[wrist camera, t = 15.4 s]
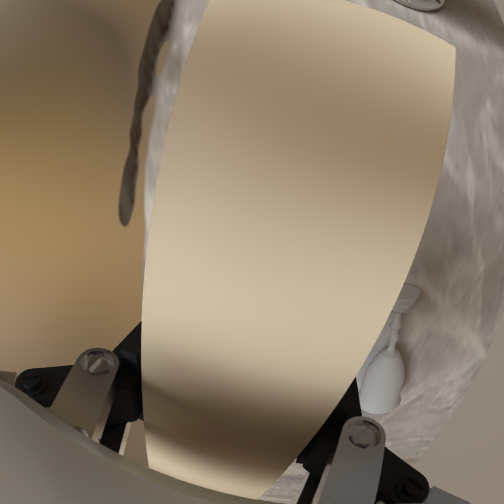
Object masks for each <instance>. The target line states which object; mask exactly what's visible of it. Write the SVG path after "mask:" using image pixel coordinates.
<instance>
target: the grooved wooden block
mask: <svg viewBox="0 0 504 504" xmlns="http://www.w3.org/2000/svg"><path fill="white" fill-rule="evenodd" d="M454 78H455V47H454V46H452V45H450V44H449V43H447V42H445V41H443V40H441V39H440V38H438V37H436V36H434V35H432V34H430V33H428V32H426V31H424V30H422V29H420V28H418V27H416V26H414V25H411V24H409V23H407V22H405V21H402V20H400V19H397V18H395V17H392V16H390V15H387V14H385V13H382V12H379V11H376V10H374V9H371V8H368V7H364V6H361V5H358V4H355V3H351V2H348V1H344V0H209V3H208V5H207V7H206V10H205V12H204V15H203V17H202V20H201V22H200V25H199V27H198V30H197V33H196V35H195V38H194V41H193V44H192V47H191V49H190V52H189V55H188V58H187V61H186V64H185V68H184V71H183V74H182V77H181V81H180V84H179V87H178V91H177V94H176V98H175V102H174V105H173V109H172V113H171V117H170V121H169V125H168V129H167V133H166V138H165V142H164V147H163V151H162V156H161V161H160V166H159V171H158V177H157V182H156V188H155V194H154V200H153V206H152V213H151V220H150V228H149V236H148V244H147V253H146V263H145V275H144V288H143V307H142V333H141V373H142V399H143V415H144V426H145V438H146V446H147V455H148V463H149V468H151V469H153V470H155V471H158V472H160V473H163V474H166V475H168V476H171V477H174V478H176V479H179V480H182V481H185V482H188V483H191V484H194V485H198V486H201V487H204V488H208V489H211V490H215V491H219V492H223V493H227V494H231V495H236V496H241V497H245V498H251V499H256V500H257V499H258V498H259V497H260V496H261V495H262V494H263V493H264V492H265V491H266V490H267V489H268V488H269V487H270V486H271V485H272V484H273V483H274V482H275V481H276V480H277V479H278V478H279V477H280V476H281V475H282V473H283V472H284V471H285V470H286V469H287V468H288V467H289V466H290V465H291V463H292V462H293V461H294V460H295V459H296V458H297V456H298V455H299V454H300V453H301V452H302V450H303V449H304V448H305V447H306V446H307V444H308V443H309V442H310V441H311V439H312V438H313V437H314V436H315V434H316V433H317V432H318V430H319V429H320V428H321V426H322V425H323V424H324V422H325V421H326V420H327V418H328V417H329V415H330V414H331V413H332V411H333V410H334V408H335V407H336V406H337V404H338V403H339V401H340V400H341V398H342V397H343V395H344V394H345V392H346V391H347V389H348V388H349V386H350V384H351V383H352V381H353V380H354V378H355V376H356V375H357V373H358V372H359V370H360V368H361V367H362V365H363V363H364V362H365V360H366V358H367V356H368V355H369V353H370V351H371V349H372V347H373V346H374V344H375V342H376V340H377V338H378V336H379V334H380V333H381V331H382V329H383V327H384V325H385V323H386V321H387V319H388V317H389V315H390V313H391V311H392V309H393V306H394V304H395V302H396V300H397V298H398V296H399V293H400V291H401V289H402V287H403V284H404V282H405V280H406V277H407V275H408V272H409V270H410V267H411V265H412V262H413V260H414V257H415V254H416V252H417V249H418V246H419V244H420V241H421V238H422V235H423V232H424V229H425V226H426V223H427V220H428V217H429V213H430V210H431V207H432V203H433V200H434V196H435V192H436V189H437V185H438V181H439V177H440V173H441V168H442V164H443V159H444V154H445V149H446V144H447V138H448V132H449V126H450V119H451V111H452V102H453V92H454Z"/></svg>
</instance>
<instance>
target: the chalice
mask: <svg viewBox="0 0 504 504" xmlns="http://www.w3.org/2000/svg"><path fill="white" fill-rule="evenodd" d="M419 295H420V290H419V289H418V288H417V287H415V286H412V285H409V284H403V287H402V289H401V291H400V293H399V296H398V298H397V300H396V302H395V304H394V306H393V309H392V312H393V313H394V319H393V321H392V323H391V324H390V325H389V326H390V327H391V334H390V335H389V336H388V340H389V346H388V348H384V349H382V350H381V351H380V353H379V354H378V355H377V356H376V357H375V359H374V360H373V361H372V362H371V364H370V365H369V367H368V369H367V370H366V372H365V374H364V379H363V384H362V388H361V390H360V391H359V392H358V393H359V399H360V406H361V409H362V410H364V411H366V412H369V413H373V414H384V413H388V412H391V411H393V410H394V409H396V408H397V407H398V406H399V404H400V401H401V396H400V392H401V389H402V386H403V383H404V380H405V369H404V363H403V360H402V357H401V353H400V351H399V350H398V349H396V348H395V345H396V343H397V341H398V340H399V336H398V331H399V329H401V328H402V324H401V316H402V314H403V313H405V312H408V311H409V310H410V309H411V308H412V307H413V304H414V303H415V302H416V300H417V298H418V296H419Z"/></svg>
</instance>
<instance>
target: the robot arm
mask: <svg viewBox="0 0 504 504" xmlns="http://www.w3.org/2000/svg"><path fill="white" fill-rule="evenodd" d="M395 1H397V2H399V3H401V4H403V5H405V6H408V7H411V8H414V9H417V10H423V11H433V10H437V9H439V8H440V7H441V6H442V5H443V4H444V2H445V0H395ZM141 333H142V321H141V322H140V323H139V324H138V325H137V326H136V327H135V328H134V329H133V330H132V331H131V332H130V334H128V335H127V337H126V338H125V339H124V340H123V341H122V342H121V343H120V344H119V345H118V346H117V347H116V348H115V349H114V350H113V351H110V350H107V349H105V348H91V349H88V350H86V351H84V352H83V353H81V354H80V356H79V357H78V358H77V360H76V362H75V363H74V365H68V366H58V367H46V368H34V369H28V370H25V371H23V372H22V373H21V374H20V375H19V376H18V374H17V373H16V372H7V371H0V504H283V503H275V502H268V501H262V500H256V499H251V498H245V497H241V496H236V495H231V494H227V493H223V492H219V491H215V490H211V489H208V488H204V487H201V486H198V485H194V484H191V483H188V482H185V481H182V480H179V479H176V478H174V477H171V476H168V475H166V474H163V473H160V472H158V471H155V470H153V469H151V468H148V467H146V466H144V465H141V464H139V463H137V462H135V461H133V460H130V459H128V458H126V457H124V456H123V454H124V450H125V446H126V442H127V437H128V433H129V429H130V426H131V422H133V421H136V420H137V419H140V420H143V421H144V415H143V399H142V373H141ZM385 441H386V435H385V431H384V429H383V427H382V426H381V425H380V424H379V423H378V422H376V421H375V420H374V419H371V418H369V417H363V416H362V413H361V406H360V399H359V393H358V387H357V381H356V376H355V378H354V380H353V381H352V383H351V384H350V386H349V388H348V389H347V391H346V392H345V394H344V395H343V397H342V398H341V400H340V401H339V403H338V404H337V406H336V407H335V408H334V410H333V411H332V413H331V414H330V415H329V417H328V418H327V420H326V421H325V422H324V424H323V425H322V426H321V428H320V429H319V430H318V432H317V433H316V434H315V436H314V437H313V438H312V439H311V441H310V442H309V443H308V444H307V446H306V447H305V448H304V449H303V450H302V452H301V453H300V454H299V455H298V456H297V460H296V463H301V464H303V467H304V468H305V469H306V470H307V471H308V472H307V474H306V476H305V479H304V481H303V483H302V485H301V488H300V490H299V492H298V494H297V496H296V498H295V501H294V503H293V504H471V503H469V502H468V501H466V500H463V499H461V498H459V497H456V496H454V495H452V494H450V493H447V492H445V491H443V490H441V489H439V488H437V487H435V486H434V487H432V488H429V484H428V481H427V479H426V478H425V477H424V476H423V475H422V474H421V473H420V472H418V471H417V470H415V469H414V468H413V467H411V466H410V465H409V464H407V463H406V462H404V461H403V460H402V459H400V458H399V457H398V456H396V455H395V454H394V453H392V452H391V451H390V450H389V449H387V448H386V447H385Z"/></svg>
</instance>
